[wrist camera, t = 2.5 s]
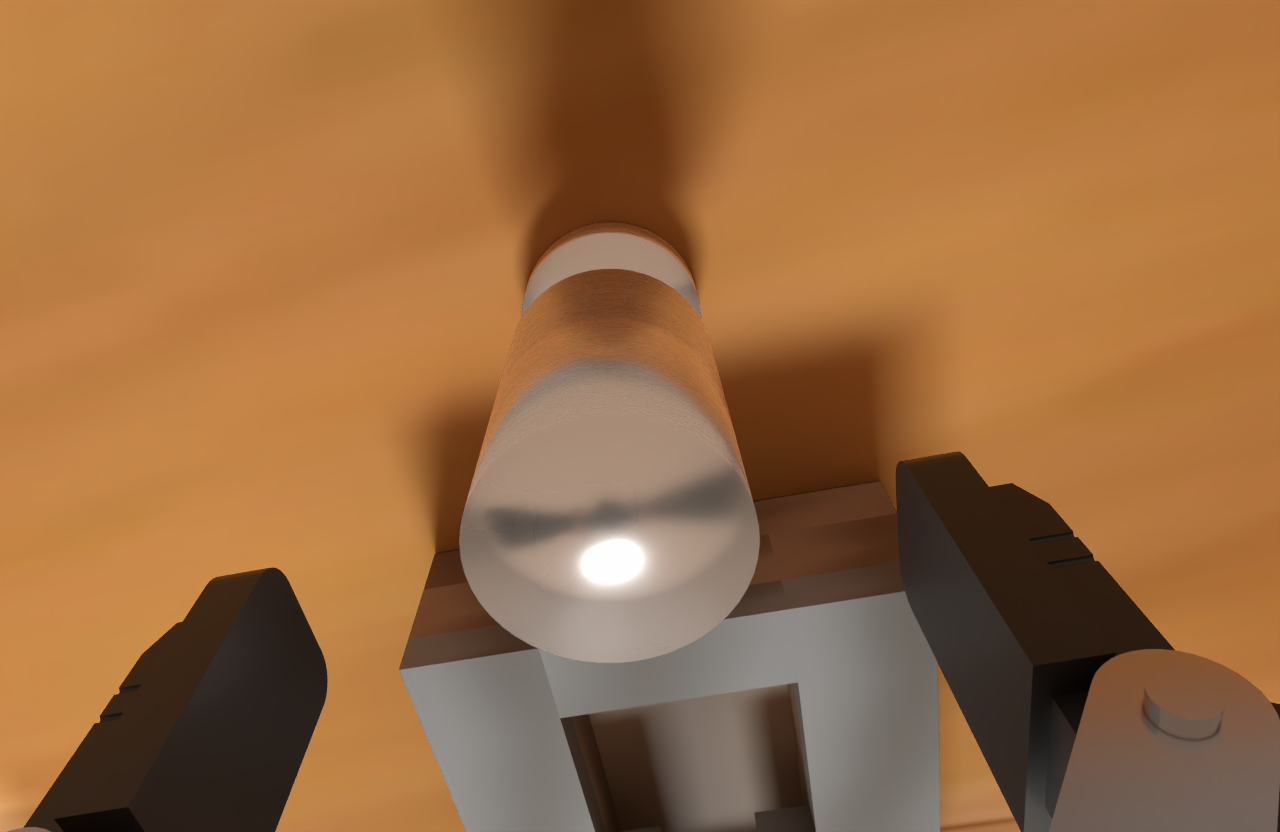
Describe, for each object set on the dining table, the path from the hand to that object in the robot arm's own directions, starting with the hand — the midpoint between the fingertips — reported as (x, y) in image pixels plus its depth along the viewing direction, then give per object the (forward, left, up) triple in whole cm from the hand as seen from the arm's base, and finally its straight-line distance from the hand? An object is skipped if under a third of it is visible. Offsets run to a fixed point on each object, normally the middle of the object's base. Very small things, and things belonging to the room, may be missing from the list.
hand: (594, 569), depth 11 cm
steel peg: (0, 0, -10) cm, 10 cm away
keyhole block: (0, +15, -10) cm, 18 cm away
